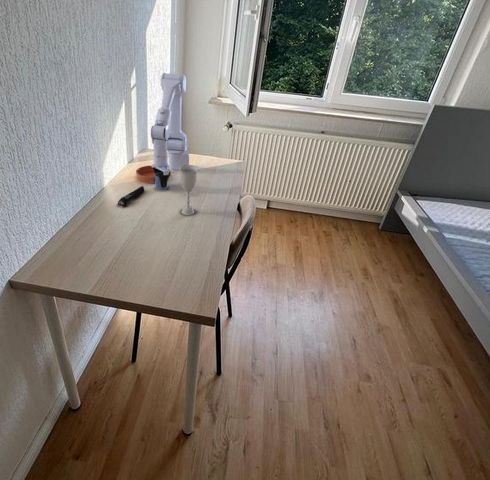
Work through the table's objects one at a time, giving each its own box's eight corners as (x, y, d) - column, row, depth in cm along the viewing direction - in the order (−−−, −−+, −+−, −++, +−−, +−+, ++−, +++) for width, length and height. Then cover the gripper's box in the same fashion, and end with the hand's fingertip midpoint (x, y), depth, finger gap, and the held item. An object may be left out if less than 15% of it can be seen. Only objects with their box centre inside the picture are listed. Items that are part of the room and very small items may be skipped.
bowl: (161, 170, 170) (160, 164, 168) (170, 182, 160) (170, 174, 158) (133, 174, 165) (132, 167, 164) (140, 186, 155) (140, 178, 153)
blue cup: (165, 185, 157) (165, 171, 153) (169, 189, 153) (168, 176, 149) (154, 186, 155) (153, 173, 151) (157, 191, 151) (157, 177, 147)
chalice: (194, 217, 133) (195, 173, 123) (177, 215, 134) (177, 171, 124) (198, 208, 139) (199, 165, 129) (181, 206, 140) (182, 164, 130)
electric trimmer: (146, 193, 149) (146, 186, 148) (124, 207, 138) (124, 200, 136) (139, 191, 151) (139, 184, 149) (117, 205, 139) (116, 198, 137)
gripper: (146, 149, 149) (148, 179, 157) (156, 161, 138) (157, 192, 146) (162, 148, 152) (162, 177, 159) (173, 159, 141) (173, 190, 148)
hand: (161, 184), depth 153 cm, fingers closed on blue cup, 5 cm apart
